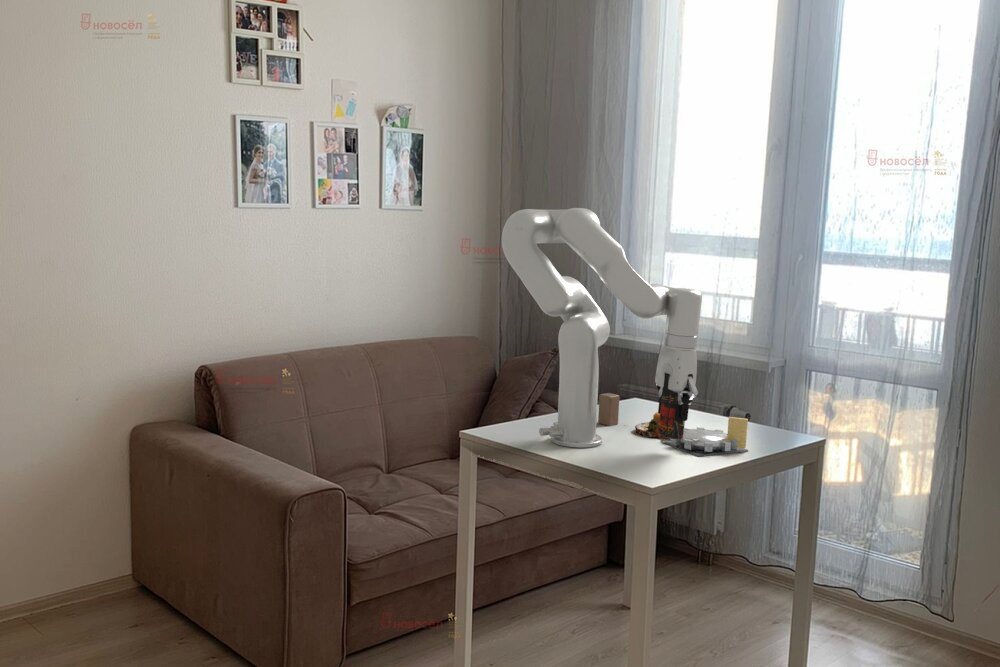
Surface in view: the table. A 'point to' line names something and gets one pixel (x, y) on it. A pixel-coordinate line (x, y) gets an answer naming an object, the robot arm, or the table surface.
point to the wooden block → (608, 409)
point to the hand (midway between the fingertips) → (672, 416)
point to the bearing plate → (701, 452)
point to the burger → (650, 427)
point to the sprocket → (716, 437)
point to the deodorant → (669, 413)
